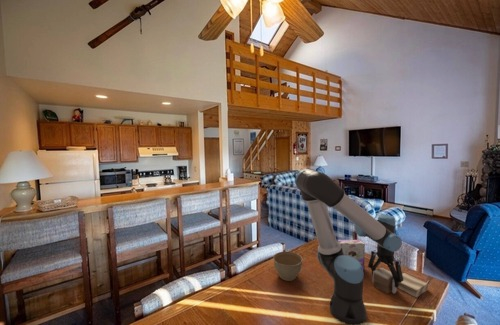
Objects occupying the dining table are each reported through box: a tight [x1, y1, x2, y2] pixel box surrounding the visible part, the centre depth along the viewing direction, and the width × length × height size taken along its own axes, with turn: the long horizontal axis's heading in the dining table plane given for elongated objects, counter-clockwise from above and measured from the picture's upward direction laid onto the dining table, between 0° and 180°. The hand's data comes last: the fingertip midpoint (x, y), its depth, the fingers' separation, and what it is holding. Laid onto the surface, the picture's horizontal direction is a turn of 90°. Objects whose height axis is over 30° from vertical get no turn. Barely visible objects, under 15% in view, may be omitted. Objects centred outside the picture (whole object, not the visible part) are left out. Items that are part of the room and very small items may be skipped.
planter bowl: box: [273, 251, 303, 282], centre depth 127 cm, size 16×16×11 cm
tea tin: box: [373, 267, 394, 294], centre depth 116 cm, size 7×7×8 cm
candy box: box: [337, 239, 366, 271], centre depth 135 cm, size 14×6×16 cm, turn 84°
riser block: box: [397, 272, 429, 298], centre depth 116 cm, size 11×11×4 cm
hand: (384, 286), depth 117 cm, fingers open, 9 cm apart
